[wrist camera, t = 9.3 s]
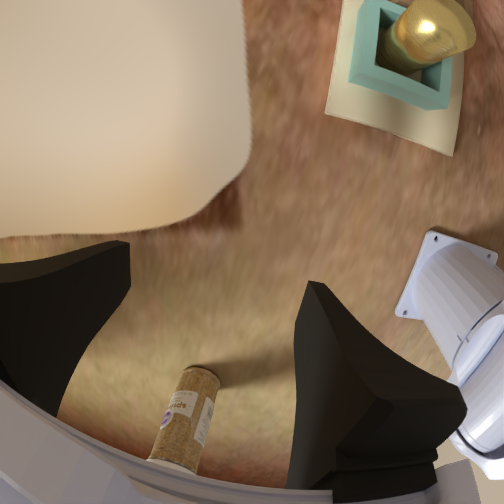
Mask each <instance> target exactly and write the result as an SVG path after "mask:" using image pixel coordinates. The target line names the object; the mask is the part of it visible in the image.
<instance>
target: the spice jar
mask: <svg viewBox="0 0 504 504" xmlns="http://www.w3.org/2000/svg"><path fill="white" fill-rule="evenodd" d="M219 388H220V381H219V379H218V378H217V376H215V375H214V374H213V373H212V372H210V371H208V370H206V369H202V368H198V367H190V368H187V369H184V370H183V371H182V372H181V374H180V380H179V382H178V385H177V387H176V390H175V392H174V394H173V396H172V398H171V401H170V403H169V406H168V408H167V411H166V414H165V416H164V419H163V421H162V424H161V427H160V431H159V434H158V436H157V439H156V442H155V444H154V447H153V450H152V452H151V455H150V456H149V457H148V458H149V459H147V460H146V461H149V462H152V463H155V464H158V465H161V466H164V467H168V468H171V469H174V470H178V471H181V472H185V473H189V474H193V475H196V474H197V467H198V464H199V460H200V457H201V453H202V450H203V448H204V445H205V441H206V437H207V433H208V429H209V425H210V422H211V418H212V414H213V410H214V403H215V399H216V395H217V392H218V390H219Z"/></svg>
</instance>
